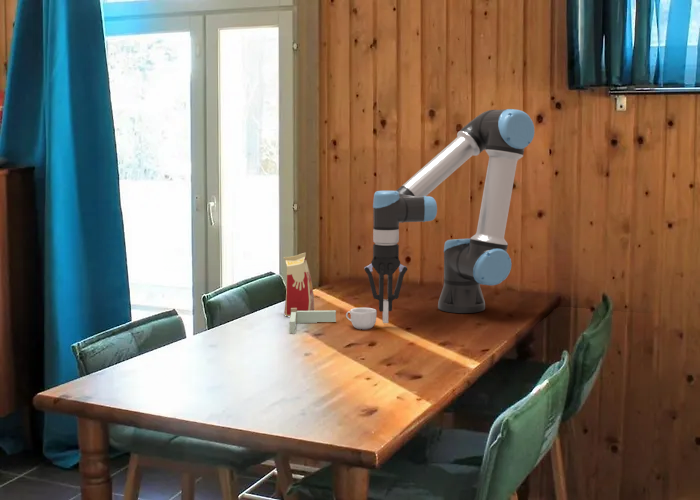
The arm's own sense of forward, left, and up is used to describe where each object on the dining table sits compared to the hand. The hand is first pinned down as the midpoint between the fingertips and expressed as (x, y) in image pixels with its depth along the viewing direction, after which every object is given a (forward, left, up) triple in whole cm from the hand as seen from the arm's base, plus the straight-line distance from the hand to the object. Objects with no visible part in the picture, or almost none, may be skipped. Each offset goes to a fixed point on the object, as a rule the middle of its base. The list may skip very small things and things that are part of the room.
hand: (385, 321), depth 266 cm
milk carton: (+26, -19, -2) cm, 33 cm away
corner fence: (+22, -1, -2) cm, 22 cm away
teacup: (+7, 0, -2) cm, 8 cm away
